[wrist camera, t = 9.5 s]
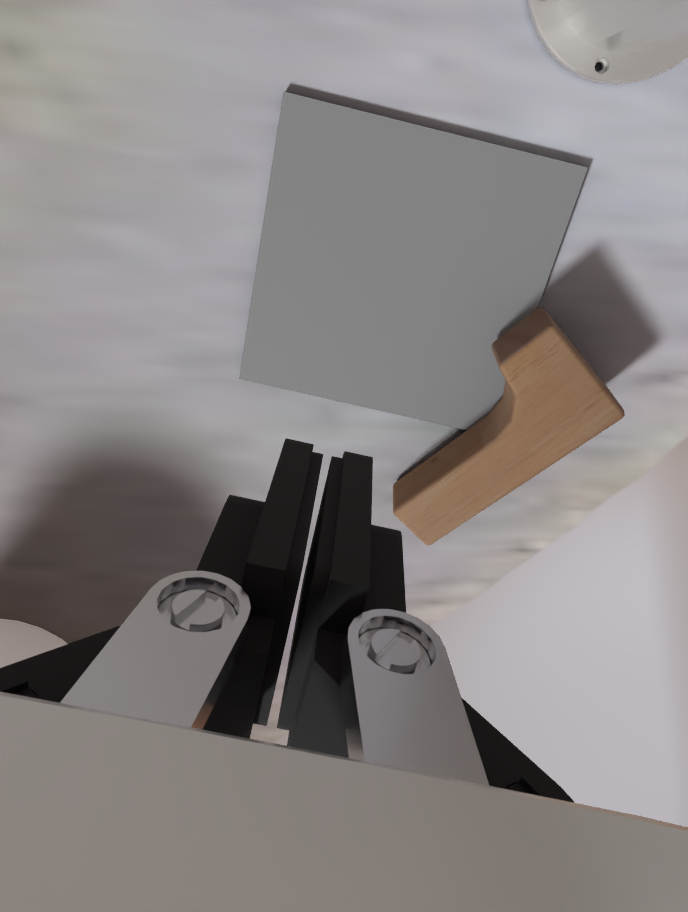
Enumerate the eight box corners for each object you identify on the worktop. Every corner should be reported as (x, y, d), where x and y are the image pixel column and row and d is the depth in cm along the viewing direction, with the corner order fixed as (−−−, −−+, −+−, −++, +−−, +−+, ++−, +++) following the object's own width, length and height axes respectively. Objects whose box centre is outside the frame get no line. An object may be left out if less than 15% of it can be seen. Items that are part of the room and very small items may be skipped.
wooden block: (540, 303, 45) (354, 448, 52) (554, 323, 41) (351, 477, 48) (609, 390, 48) (425, 516, 55) (628, 416, 44) (427, 549, 51)
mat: (284, 92, 42) (283, 91, 41) (585, 167, 43) (588, 167, 42) (240, 376, 50) (239, 378, 50) (490, 432, 51) (491, 435, 51)
